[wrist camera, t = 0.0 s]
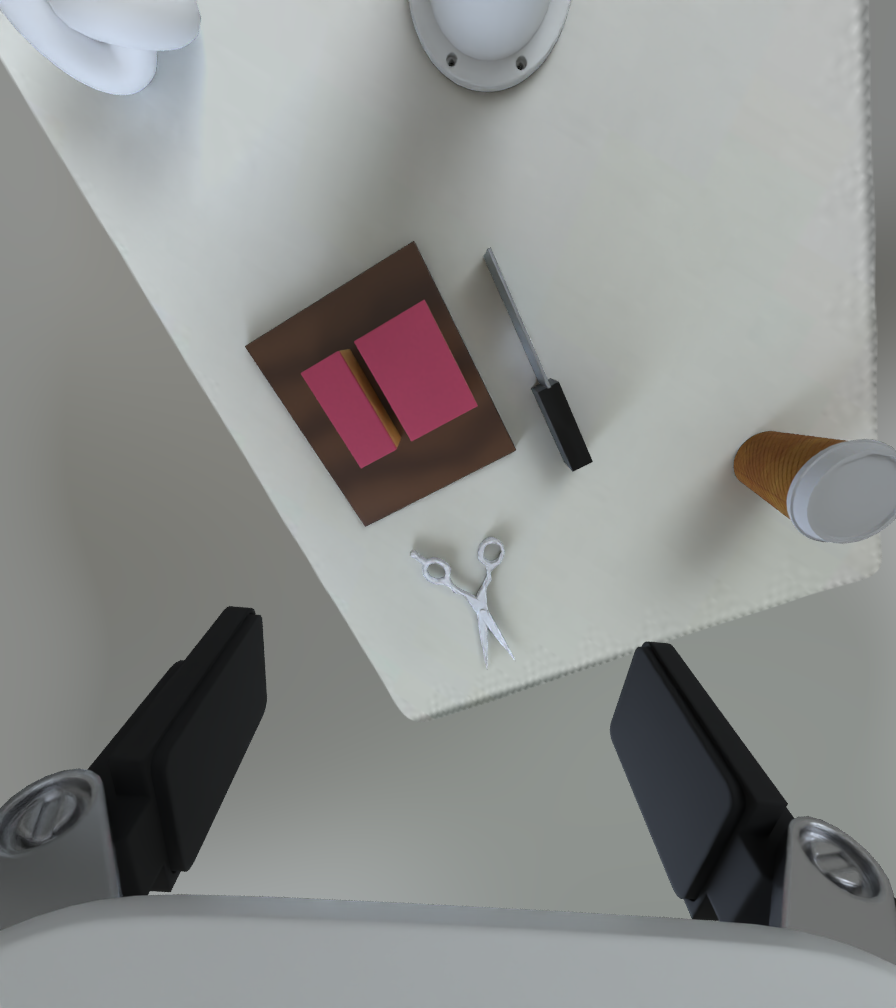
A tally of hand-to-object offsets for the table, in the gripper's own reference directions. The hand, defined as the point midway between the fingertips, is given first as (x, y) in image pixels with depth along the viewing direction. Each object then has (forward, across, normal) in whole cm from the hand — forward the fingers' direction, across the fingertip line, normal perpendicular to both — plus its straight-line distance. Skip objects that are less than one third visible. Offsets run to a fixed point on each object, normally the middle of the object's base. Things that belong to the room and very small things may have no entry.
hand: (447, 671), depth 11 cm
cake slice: (+36, +9, 0) cm, 38 cm away
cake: (+36, +3, -4) cm, 37 cm away
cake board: (+37, +6, -1) cm, 38 cm away
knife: (+37, -8, -6) cm, 39 cm away
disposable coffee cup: (+38, -35, +1) cm, 52 cm away
